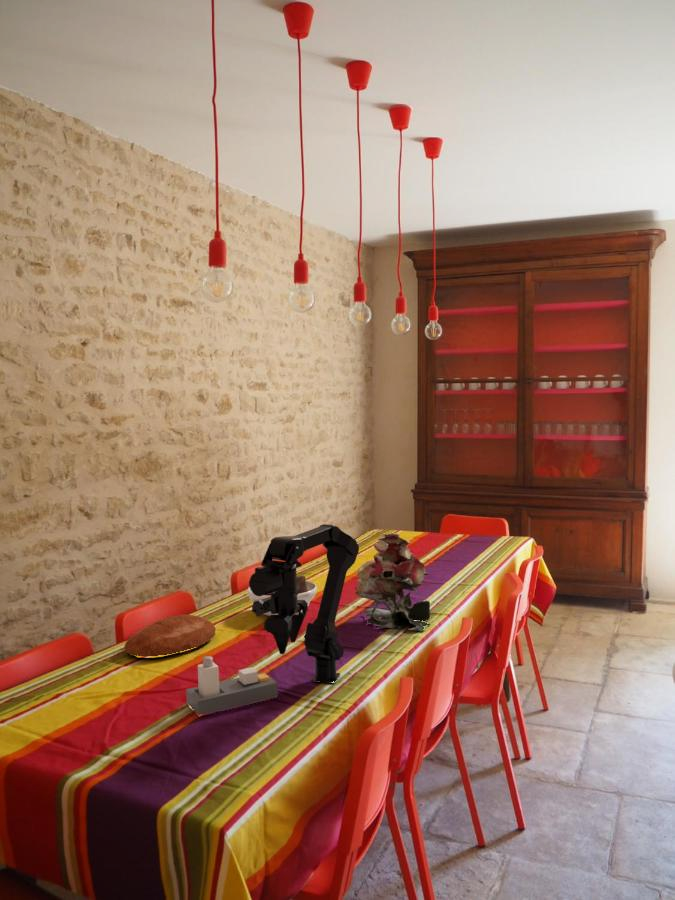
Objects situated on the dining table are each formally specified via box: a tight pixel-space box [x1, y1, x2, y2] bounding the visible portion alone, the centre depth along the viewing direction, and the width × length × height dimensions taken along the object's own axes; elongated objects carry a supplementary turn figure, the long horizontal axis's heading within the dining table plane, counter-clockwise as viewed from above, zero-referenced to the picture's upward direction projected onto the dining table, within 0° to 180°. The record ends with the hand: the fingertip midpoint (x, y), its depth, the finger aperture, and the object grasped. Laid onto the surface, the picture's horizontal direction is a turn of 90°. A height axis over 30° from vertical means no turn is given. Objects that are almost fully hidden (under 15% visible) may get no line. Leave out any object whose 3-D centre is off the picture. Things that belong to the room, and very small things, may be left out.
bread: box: [124, 614, 217, 656], centre depth 232 cm, size 23×32×9 cm
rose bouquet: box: [354, 533, 431, 633], centre depth 251 cm, size 26×29×30 cm
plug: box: [197, 655, 220, 698], centre depth 183 cm, size 4×4×12 cm
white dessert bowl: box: [246, 575, 318, 617], centre depth 264 cm, size 25×25×15 cm
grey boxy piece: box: [185, 666, 279, 715], centre depth 186 cm, size 21×9×7 cm, turn 120°
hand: (287, 647), depth 187 cm, fingers open, 9 cm apart
